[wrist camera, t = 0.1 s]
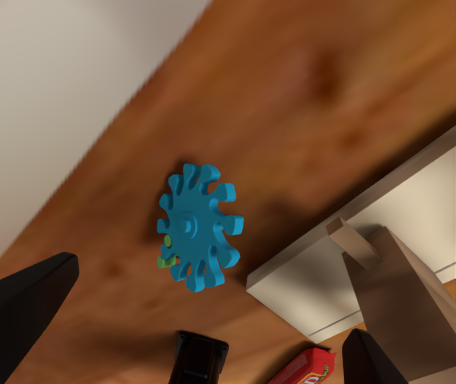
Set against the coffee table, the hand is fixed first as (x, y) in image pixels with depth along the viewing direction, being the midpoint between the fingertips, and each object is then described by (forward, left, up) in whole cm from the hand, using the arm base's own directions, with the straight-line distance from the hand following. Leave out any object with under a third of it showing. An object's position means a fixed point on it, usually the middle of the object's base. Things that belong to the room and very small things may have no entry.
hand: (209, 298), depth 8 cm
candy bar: (-28, -12, -15) cm, 34 cm away
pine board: (-6, -13, -15) cm, 20 cm away
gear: (-6, +3, -15) cm, 17 cm away
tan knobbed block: (-5, -12, -12) cm, 18 cm away
